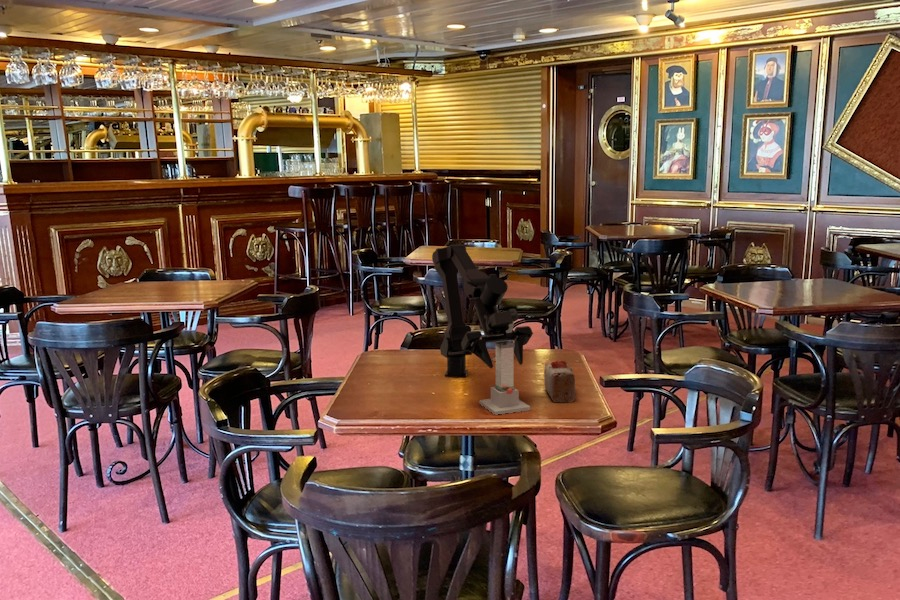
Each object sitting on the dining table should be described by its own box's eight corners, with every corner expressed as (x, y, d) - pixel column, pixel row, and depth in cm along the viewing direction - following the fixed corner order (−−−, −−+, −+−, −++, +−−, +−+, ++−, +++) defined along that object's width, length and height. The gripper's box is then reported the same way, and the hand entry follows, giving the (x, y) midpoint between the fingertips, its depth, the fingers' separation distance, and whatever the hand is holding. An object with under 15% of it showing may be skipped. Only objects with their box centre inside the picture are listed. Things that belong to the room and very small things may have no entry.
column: (494, 388, 189) (494, 342, 187) (508, 386, 191) (508, 340, 188) (500, 392, 186) (500, 345, 183) (514, 390, 187) (514, 344, 185)
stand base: (479, 403, 192) (479, 383, 191) (513, 399, 195) (513, 378, 194) (495, 415, 183) (495, 393, 182) (530, 410, 186) (530, 388, 185)
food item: (541, 388, 205) (541, 354, 203) (569, 387, 205) (569, 354, 204) (550, 403, 192) (550, 367, 190) (579, 402, 192) (580, 367, 190)
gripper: (465, 301, 184) (482, 353, 176) (530, 296, 191) (549, 345, 183) (454, 325, 193) (470, 375, 185) (516, 319, 199) (535, 368, 191)
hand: (506, 365), depth 186 cm, fingers open, 8 cm apart
